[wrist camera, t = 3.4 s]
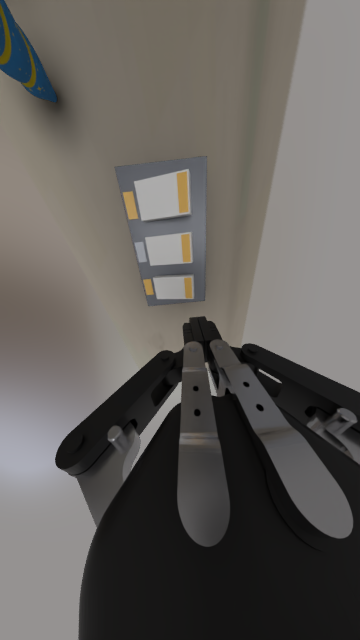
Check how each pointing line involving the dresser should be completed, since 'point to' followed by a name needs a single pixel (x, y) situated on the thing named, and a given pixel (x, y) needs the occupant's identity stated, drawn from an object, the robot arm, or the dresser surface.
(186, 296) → the rocker outer
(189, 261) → the rocker middle
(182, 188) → the rocker inner
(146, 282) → the switch unit
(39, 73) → the ornament
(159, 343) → the dresser surface
